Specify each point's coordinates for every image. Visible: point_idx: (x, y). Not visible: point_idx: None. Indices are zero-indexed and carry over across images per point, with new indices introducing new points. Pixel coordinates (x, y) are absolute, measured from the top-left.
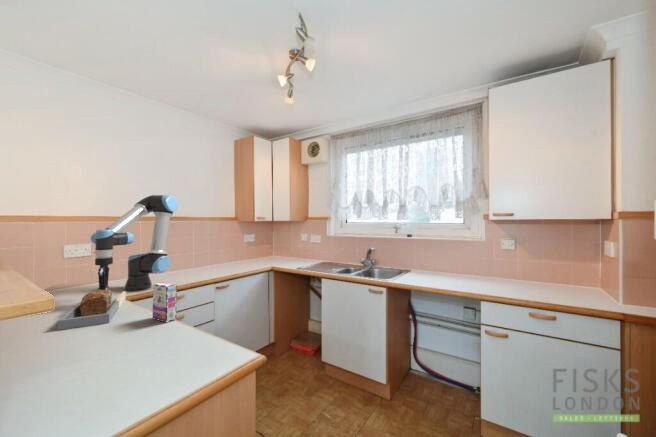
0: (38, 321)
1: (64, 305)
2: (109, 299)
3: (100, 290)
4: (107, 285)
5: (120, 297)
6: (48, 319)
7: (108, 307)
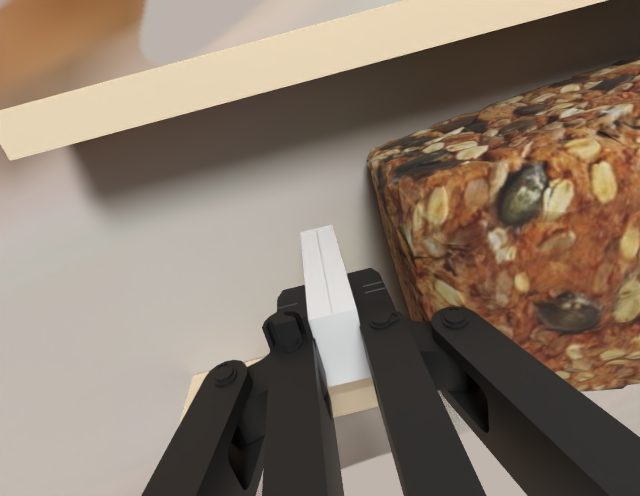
0: (626, 414)
1: None
2: (611, 93)
3: (624, 289)
4: (235, 364)
5: (445, 4)
6: (613, 389)
7: (610, 69)
